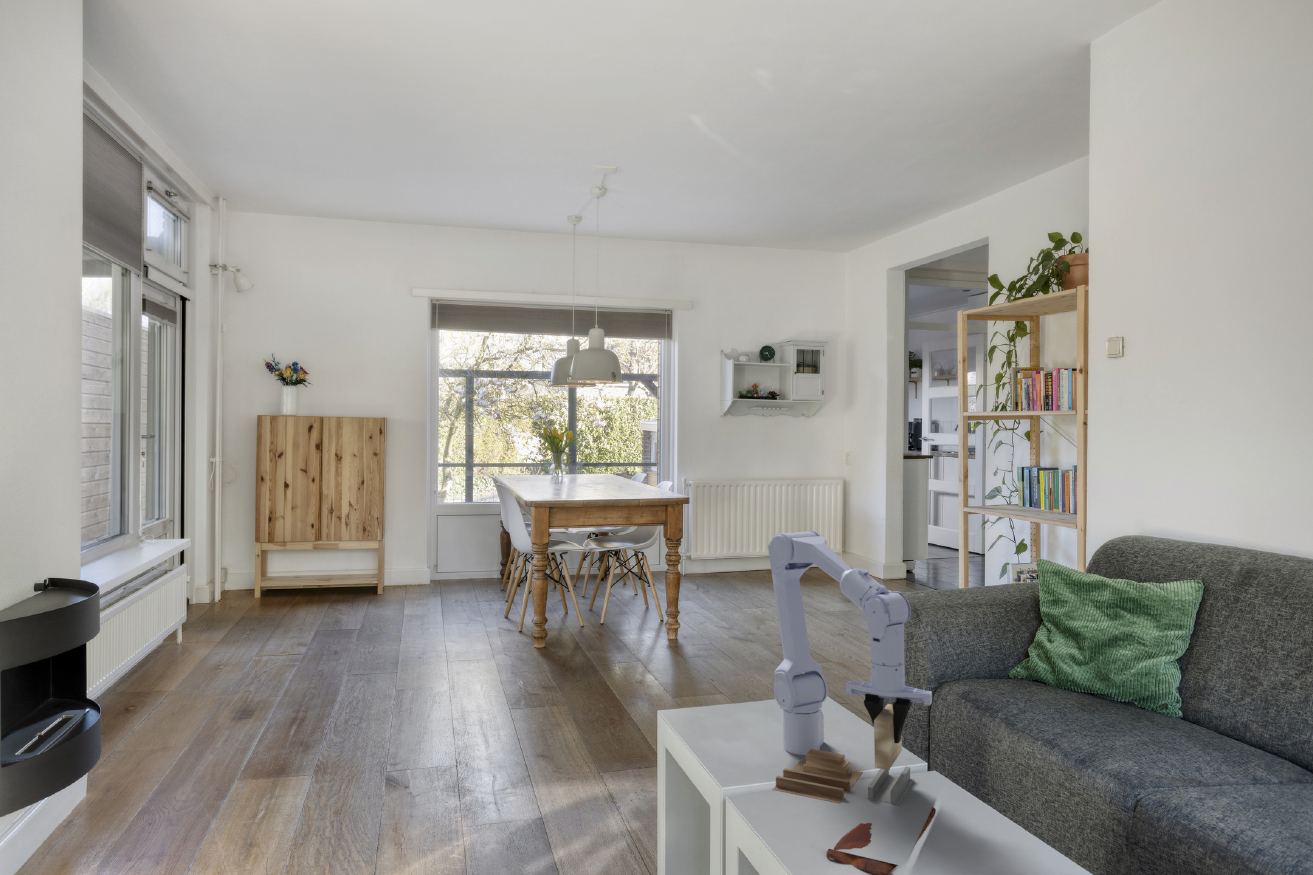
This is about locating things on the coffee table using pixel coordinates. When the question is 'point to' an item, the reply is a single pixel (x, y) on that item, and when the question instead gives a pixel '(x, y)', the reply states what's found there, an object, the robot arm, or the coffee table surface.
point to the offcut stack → (826, 763)
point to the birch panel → (885, 739)
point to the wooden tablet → (861, 839)
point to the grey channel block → (889, 786)
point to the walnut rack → (815, 784)
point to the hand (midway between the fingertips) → (888, 739)
